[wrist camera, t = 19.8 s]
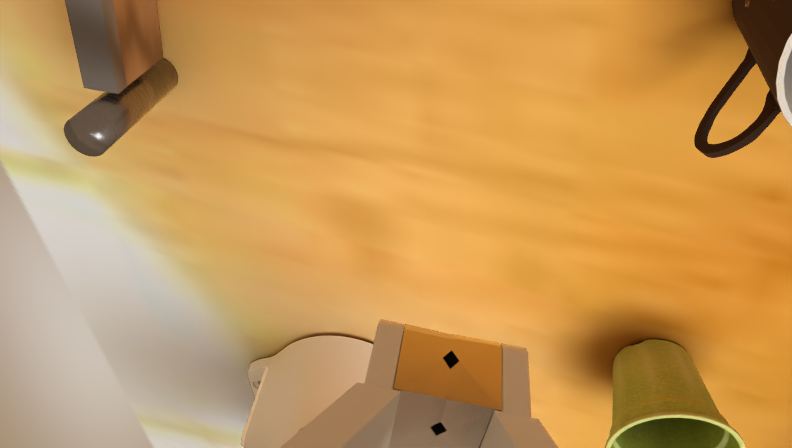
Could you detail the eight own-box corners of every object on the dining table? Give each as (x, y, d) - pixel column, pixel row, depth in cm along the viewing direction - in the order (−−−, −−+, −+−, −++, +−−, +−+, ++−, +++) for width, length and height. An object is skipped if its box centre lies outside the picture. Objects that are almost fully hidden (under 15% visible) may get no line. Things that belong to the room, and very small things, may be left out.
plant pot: (577, 387, 52) (588, 479, 45) (611, 313, 47) (630, 405, 40) (684, 407, 52) (712, 502, 45) (732, 334, 46) (772, 431, 39)
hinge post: (179, 93, 40) (110, 160, 33) (145, 87, 40) (68, 152, 33) (176, 59, 39) (102, 122, 32) (141, 53, 39) (60, 113, 32)
